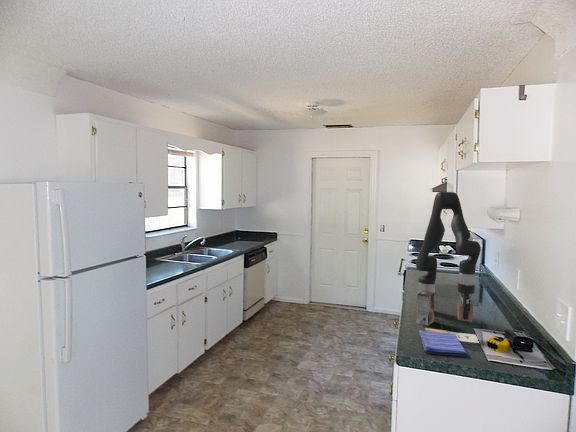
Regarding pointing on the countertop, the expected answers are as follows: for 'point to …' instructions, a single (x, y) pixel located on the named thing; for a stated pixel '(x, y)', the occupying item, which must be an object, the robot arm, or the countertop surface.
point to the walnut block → (460, 312)
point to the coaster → (436, 330)
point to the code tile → (466, 337)
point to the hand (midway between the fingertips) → (464, 317)
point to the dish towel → (442, 344)
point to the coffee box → (425, 308)
